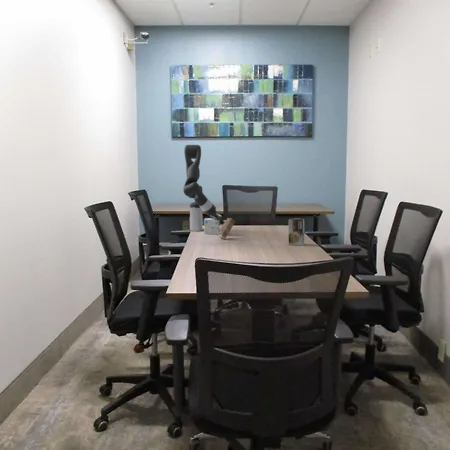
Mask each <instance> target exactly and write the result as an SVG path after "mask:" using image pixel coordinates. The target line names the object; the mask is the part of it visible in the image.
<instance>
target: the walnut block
mask: <svg viewBox="0 0 450 450" xmlns="http://www.w3.org/2000/svg"><path fill="white" fill-rule="evenodd" d="M225 220H226V222H225V224H224V225H223V227H222V229H221V228H220V232H219V234H217V236H218V237H219V238H220V239H222V240H226V238H227V237H228V236H229V235H228V233H230V232H231V229H232V228H233V226H234V225H235V223H236V221H235V220H234V219H233V218H232V217H227V218H226V219H225Z"/></svg>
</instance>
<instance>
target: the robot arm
mask: <svg viewBox="0 0 450 450" xmlns="http://www.w3.org/2000/svg"><path fill="white" fill-rule="evenodd" d="M183 153H184V160H185V166H186V167H185V170H186V173H185V174H186V180H185V182H184V186H183V193H184V195H185V196H186V197H188V198H189V199H193V200H194V202H191V203H190V204H189V231H192V232H201V231H202V232H203V230H204V219H203V217H204V216H203V213H205V214H206V216H209V218H213V219H214V220H217V221H218V222H219V223H220V226H221V225H223V224H224V220H223V215H222V213H220V214H219V212H218V211H217V207H216V206H215V205H214V203H212V201H211V200H210V199H209V198H208V197H207V196H206V195H205V194H204V191H203V186H202V185H200V184H199V183H198V181H199V179H200V176H201V175H200V163H201V157H202V147H201V145H199V144H186V145H185V146H184V149H183Z"/></svg>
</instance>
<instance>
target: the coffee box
mask: <svg viewBox="0 0 450 450" xmlns="http://www.w3.org/2000/svg"><path fill="white" fill-rule="evenodd" d="M305 222H306V221H305V218H301V217H300V218H299V217H295V218H294V217H293V218H292V217H290V218H289V219H288V244H287V245H288V246H304V245H305Z"/></svg>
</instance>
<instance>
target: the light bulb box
mask: <svg viewBox="0 0 450 450" xmlns="http://www.w3.org/2000/svg"><path fill="white" fill-rule="evenodd" d="M203 230H204V232H203V234H204V235H218V234H219V232H220V231H221V224H220V223H219V222H218V221H217V220H214V219H213V218H211V217H209V218H208V217H207V218H204V219H203Z"/></svg>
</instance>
